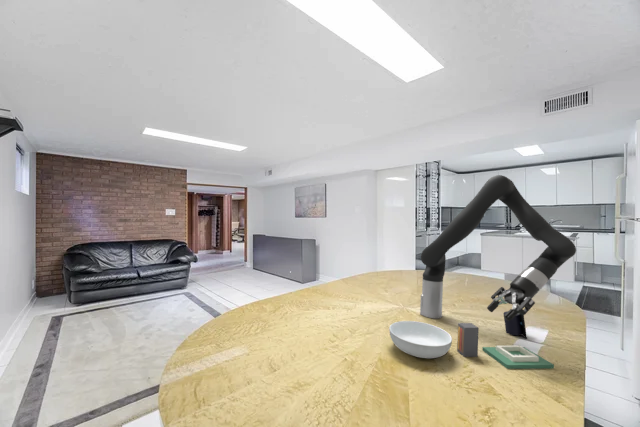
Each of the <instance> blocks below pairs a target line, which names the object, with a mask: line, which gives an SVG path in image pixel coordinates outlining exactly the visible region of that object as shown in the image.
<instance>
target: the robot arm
mask: <svg viewBox="0 0 640 427" xmlns="http://www.w3.org/2000/svg"><path fill="white" fill-rule="evenodd" d="M498 200H499V201H500V202H502V203H503V204H504V205H505V206H506V207H507V208H509V209H510V211H511V212H512V213H513V214H514V215H515V217H516V218H517V220H518V222H519V223H520V224H521V225H522V227H523V228H524V229H525V230H526V231H527V232H528V234H529V235H530V236H531V237H532V238H533V239H534V240H536V241H539V242H540V241H542V242H543V243H544V244H545V245H546V246H547V247H546V248H545V249H544V250H543V251H542V253H541V254H540V255H539V256H538V257H536V259H534V260H533V261H532V262H531V263H530V264H529V265H528V266H527V267H525V269H523V270H522V271H521V272H520V273H519V274H518V275H517V276H516V277H515V278H514V279H513V280H512V281H511V282H510V284H509V288H508V289H506V288H504V287H503V286H501V287H500V288H498V289H497V290H495V292H494V293H493V294H492V295H491V296H490V299H492V301H491V302H490V303H489V304H488V305H487V306H486V309H487V310H488V311H489V312H490V313H493V312H494V311H496V309H497V308H498V307H499V306H500V305H503V304H504V305H507V304H509V305H512V307H511V308H510V309H509V310H508V312H507V311H506V312H507V313H506V314H505V315H504V314H503V319H504V318H505V319H506V320H507V321H510V320H512V319H513V318H514V317H515V316H516V315H517V314H522V315H524V316H525V315H526V314H527V313H528V312H529V311H530V310H531V308H533V306H534V305H536V302H535V300H534V299H533V298H534V297H535V296H536V295H537V293H538V292H540V291H541V290H542V289H543V288H544V286H545V285H546V284H547V283H548V281H549V280H550V279H551V278H552V277H553V276H554V275H555V274H556V272H557V271H558V269H559V268H561V266H562V265H564V263H566V262H567V261H568V260H570V259H571V258H572V257H574V256H575V255H576V253H577V248H576V246H575V243H574V242H573V241H572V240H571V238H569V237H567V236H566V235H565V234H563V233H561V232H560V231H559V230H556V229H555V228H553V226H552V225H551V224H550V223H549V222H548V221H547V220H546V219H545V218H544V217H543V216H542V215H541V214H540V213H539V212H538V211H537V210H536V209H534V208H533V207H532V206H531V205H530V204H529V203H528V201H527V200H526V199H525V198H524V197H523V195H522V194H521V193H520V192H519V190H518V188H517V187H516V185H515V183H514V181H513V180H512V179H510V178H508V177H507V176H505V175H501V174H498V175H493V176H492V177H490V178H489V179H488V180H487V181H486V182H484V184H483V186H482V187H481V189H480V190H479V191H478V193H477V194H476V195H475V196H474V197H473V199H471V201H470V202H469V203H468V204H467V205H466V206H464V207H463V208H462V210H461V211H460V212H459V213H458V214H457V215H456V216H455V217H454V218H453V219H452V220H451V221H450V222H449V224H448V225H447V226H446V227H445V228H444V230H443V231H442V232H441V233H440V234H439V236H437V238H435V239H434V240H433V241H432V242H431V243H430V244H428V245H427V246H426V247H425V248H424V249H423V250H422V252H421V253H420V260H421V262H422V264H423V265H424V266H425V269H424V271H423V272H422V286H421V287H422V288H421V294H420V306H419V307H420V309H419V310H420V311H419V315H422V316H423V317H425V318H430V319H441V318H442V316H443V294H444V293H443V290H444V289H443V288H444V276H445V274H446V273H445V272H446V262H447V261H446V260H447V258H446V253H448V252H449V250H451V249H452V248H453V247H455V245H456V246H457V244H459V243H460V242H462V241H463V240H465V239H466V238H467V237H468V236H469V235H471V234H472V232H473V231H474V230H475V229H476V228H477V227H478V226H479V224H480V223H481V222H482V220H483V219H484V215H485V214H486V212H487V211H488V209H489V208H490V207H491V206H492V205H493V204H495V203H496V201H498Z"/></svg>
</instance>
